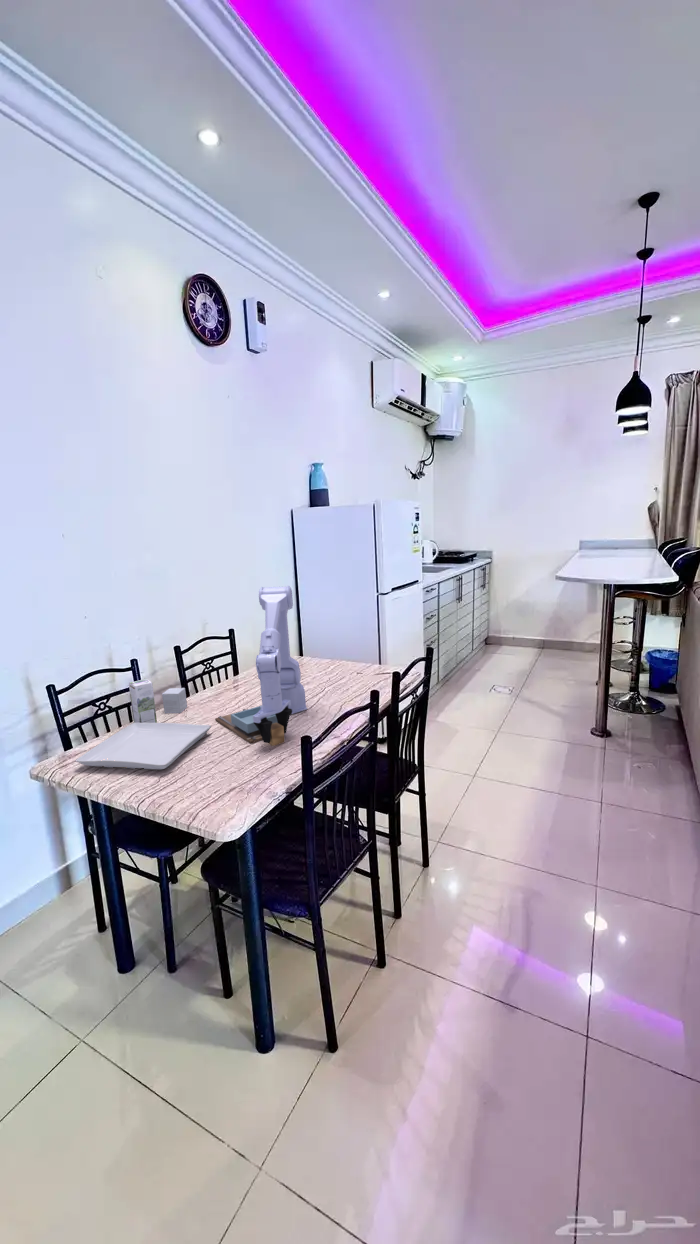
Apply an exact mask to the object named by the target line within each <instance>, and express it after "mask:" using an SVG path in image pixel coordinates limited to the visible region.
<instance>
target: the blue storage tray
mask: <svg viewBox="0 0 700 1244" xmlns="http://www.w3.org/2000/svg"><path fill="white" fill-rule="evenodd" d="M261 706H262V705H259V706H256V707H251V708H247V709H248V710H244V711H243V710H240V711H241V712H239V711H236V712H237V713H236V712H233V713H234V714H232V713H230V714H231V723H232V724H234V725H235V727H236V728H237V727H239V728H240V729H242V730H244V731H245V732H246V733H247V735H249V734H251V732H254V731H257V730H258V728H257V727H256V725H255V724H254V722H253V716H254V715H255V714H257V713H258V712H259V711H260V710H261V708H260V707H261ZM267 719H268V721H272V724H273V723H276V722H277V718H276V715H275V714H273V715H271V716H269V717H267ZM277 723H278V722H277Z"/></svg>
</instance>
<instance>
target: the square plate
mask: <svg viewBox="0 0 700 1244" xmlns="http://www.w3.org/2000/svg"><path fill="white" fill-rule="evenodd" d="M211 728H212V725H211V724H194V723H193V724H192V723H178V722H176V723H175V722H174V723H172V722H157V723H134V722H132V723H131V724H129V725H127V726H125V727H124V728H122V729H120V730H119V731H117V732H116V733H114V734H112V735H111V736H109V737H108V738H106V739H104V740H102V742H100V743H98V744H97V745H96V746H94V747H92V748H91V749H90V750H88V751H87V752H85V753H84V754H82V755H81V756H79V757H78V758H77V759H75V762H76V763H79V764H81V765H84V766H89V767H102V766H104V768H113V767H127V768H126V769H135V768H144V769H143V770H165V769H167V768H168V767H169V766H170V765H172V764H173V763H174V762H175V761H176V760H177V759H178V758H179V757H180V756H182V755H183V754H184V753H185V752H186V751H188V749H190V747H192V746H193V745H195V744H196V743H197V742H198V741H199V740H201V739H202V738H203V737H205V736H206V734H207V733H208V731H210V729H211ZM107 758H108V760H107ZM103 759H105V760H103ZM101 760H102V761H101ZM114 760H115V761H114Z"/></svg>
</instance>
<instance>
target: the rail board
mask: <svg viewBox="0 0 700 1244" xmlns="http://www.w3.org/2000/svg"><path fill="white" fill-rule="evenodd" d="M248 709H249V708H247V709H245V708H244V709H242V710H240V711H236V712H233V713H229V714H226V715H223V716H221V715H218V716H217V717H216V718H214V720H215V722H217V723H218V724H219V725H220V726H222V727H224V728H225V729H227V730H229V731H230V732H232V733H233V734H235V735H236V736H238V737H239V738H241V739H242V740H244V741H245V742H247V743H249V744H250V745H252V744H255V743H257V742H260V741H263V739H262V736H261V734H260V732H259V730H257V731H254V732H251V734H249V735H247V733H246V732H245V731H244V730H242V729H240V728H239V727H237V728H236V727H235V725H234V724H232V723H231V714H234V713H237V712H241V711H244V710H248Z"/></svg>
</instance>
